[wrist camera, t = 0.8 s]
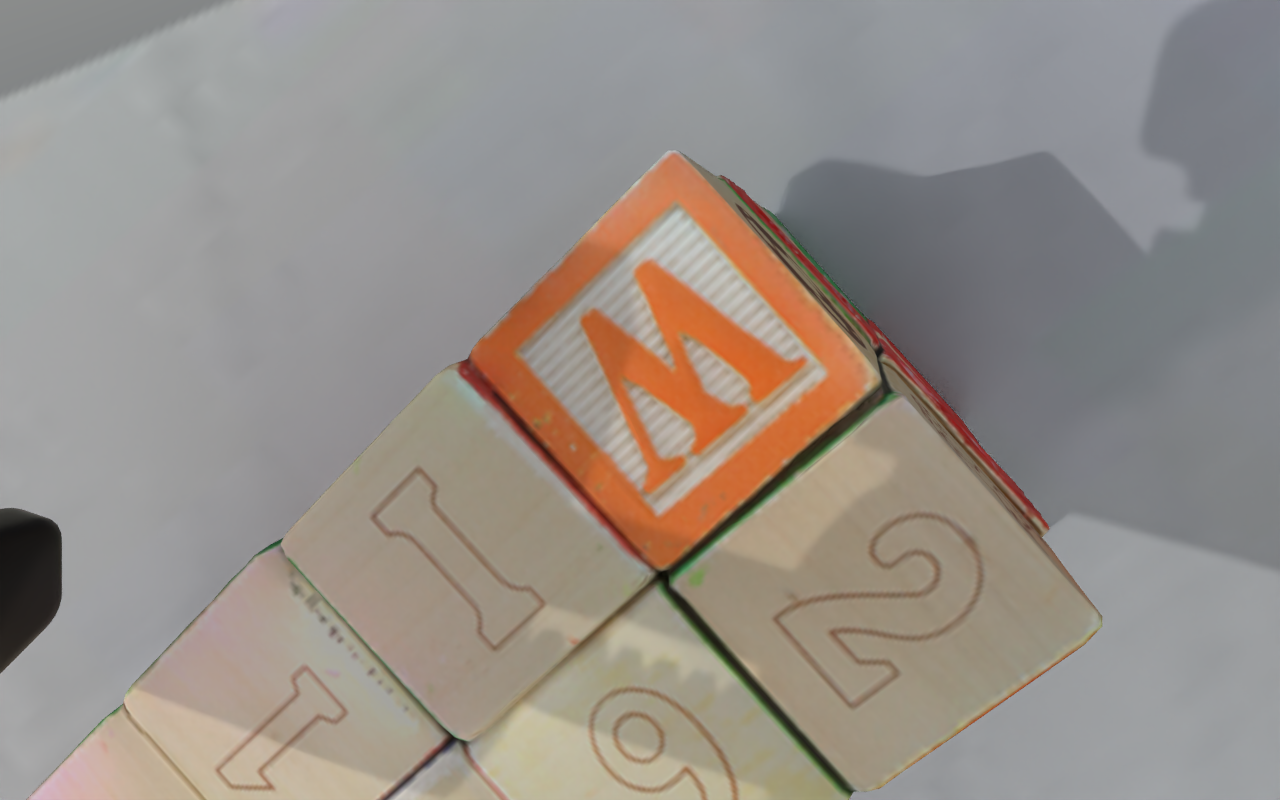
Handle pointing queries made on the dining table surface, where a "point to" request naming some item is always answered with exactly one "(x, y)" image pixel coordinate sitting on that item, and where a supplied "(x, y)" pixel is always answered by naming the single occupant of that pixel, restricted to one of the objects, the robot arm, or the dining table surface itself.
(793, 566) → the stack of blocks
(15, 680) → the dining table surface
